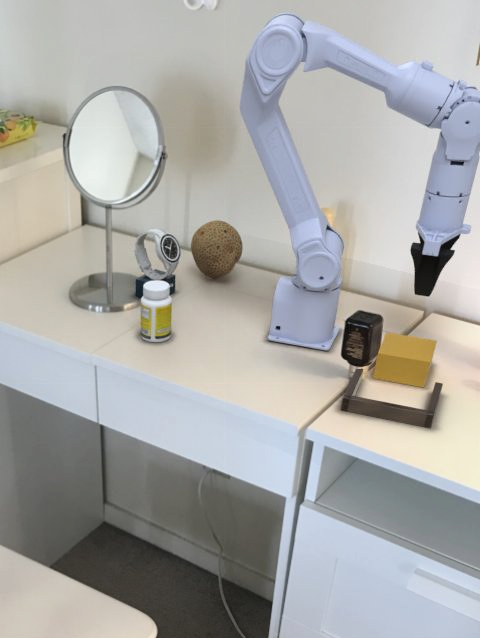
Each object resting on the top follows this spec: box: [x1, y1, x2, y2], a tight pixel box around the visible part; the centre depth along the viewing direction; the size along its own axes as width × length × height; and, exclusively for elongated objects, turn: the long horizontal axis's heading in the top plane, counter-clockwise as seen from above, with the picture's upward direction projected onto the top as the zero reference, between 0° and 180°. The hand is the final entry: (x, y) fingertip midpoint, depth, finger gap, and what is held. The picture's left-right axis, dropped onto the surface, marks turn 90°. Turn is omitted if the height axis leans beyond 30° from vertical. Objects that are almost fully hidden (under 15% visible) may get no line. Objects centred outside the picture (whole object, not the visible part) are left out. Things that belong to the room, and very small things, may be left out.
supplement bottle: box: [140, 280, 173, 343], centre depth 125 cm, size 5×5×8 cm
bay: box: [340, 368, 444, 429], centre depth 110 cm, size 12×9×2 cm
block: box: [372, 332, 438, 388], centre depth 116 cm, size 7×7×4 cm
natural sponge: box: [190, 219, 243, 280], centre depth 143 cm, size 9×9×10 cm
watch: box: [134, 227, 182, 299], centre depth 137 cm, size 6×8×11 cm
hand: (425, 287), depth 117 cm, fingers open, 5 cm apart
